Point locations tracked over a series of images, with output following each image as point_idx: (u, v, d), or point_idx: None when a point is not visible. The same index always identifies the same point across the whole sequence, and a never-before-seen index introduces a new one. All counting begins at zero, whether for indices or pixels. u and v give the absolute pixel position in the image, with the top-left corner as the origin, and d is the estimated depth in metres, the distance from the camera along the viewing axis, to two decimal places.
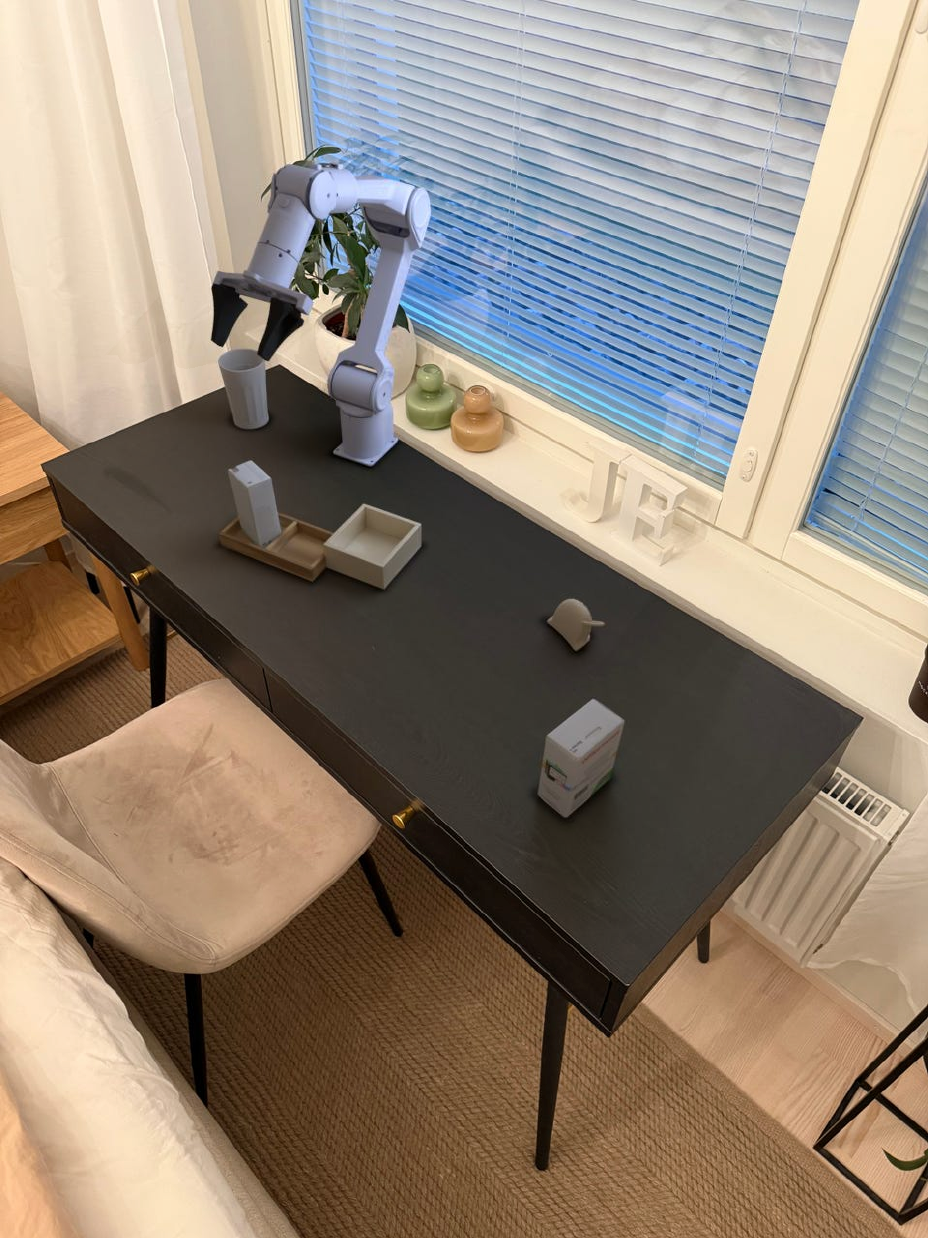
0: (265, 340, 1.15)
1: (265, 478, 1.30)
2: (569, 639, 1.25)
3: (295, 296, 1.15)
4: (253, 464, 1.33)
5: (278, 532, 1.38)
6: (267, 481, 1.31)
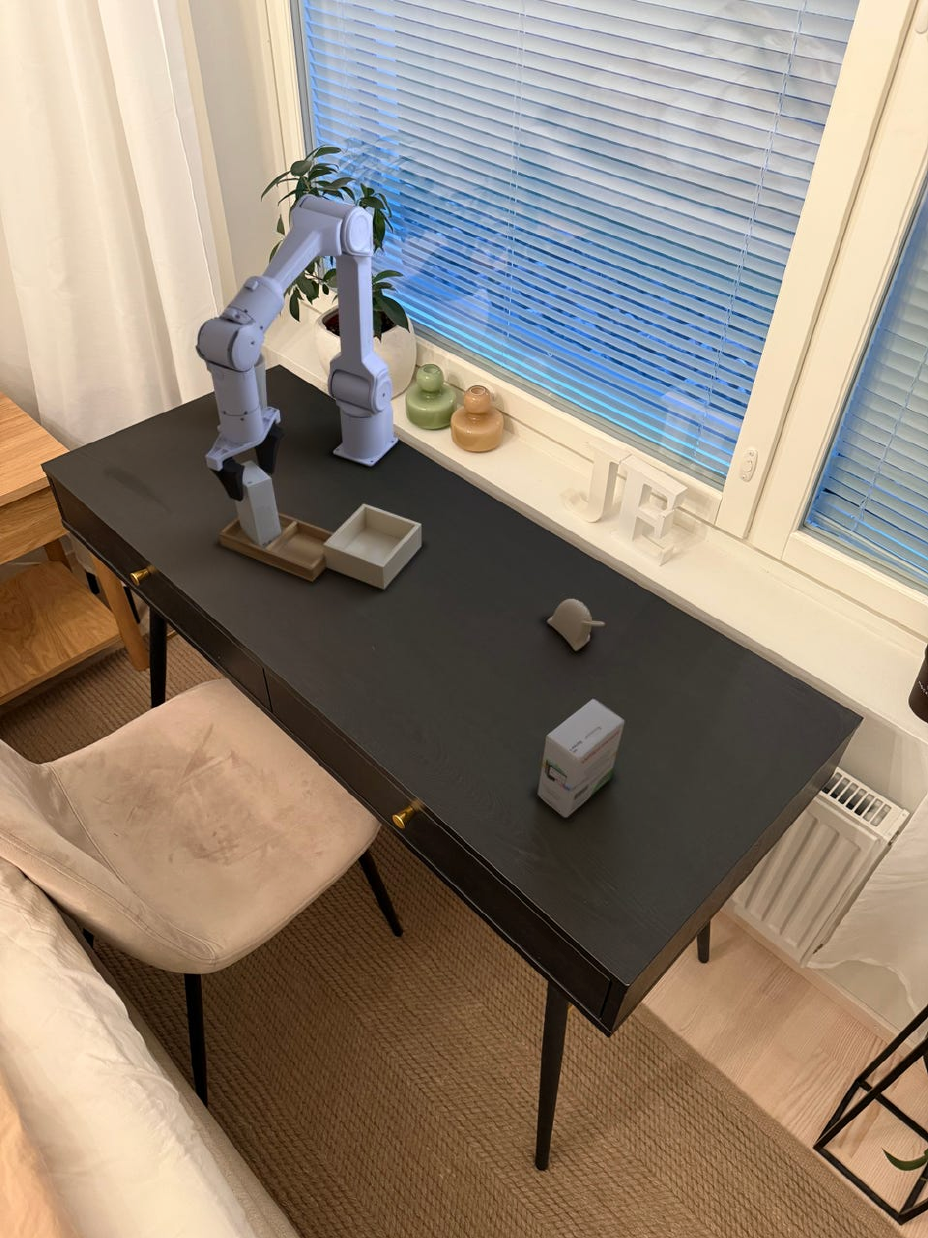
0: None
1: (265, 478, 1.30)
2: (569, 639, 1.25)
3: None
4: (253, 464, 1.33)
5: (278, 532, 1.38)
6: (267, 481, 1.31)
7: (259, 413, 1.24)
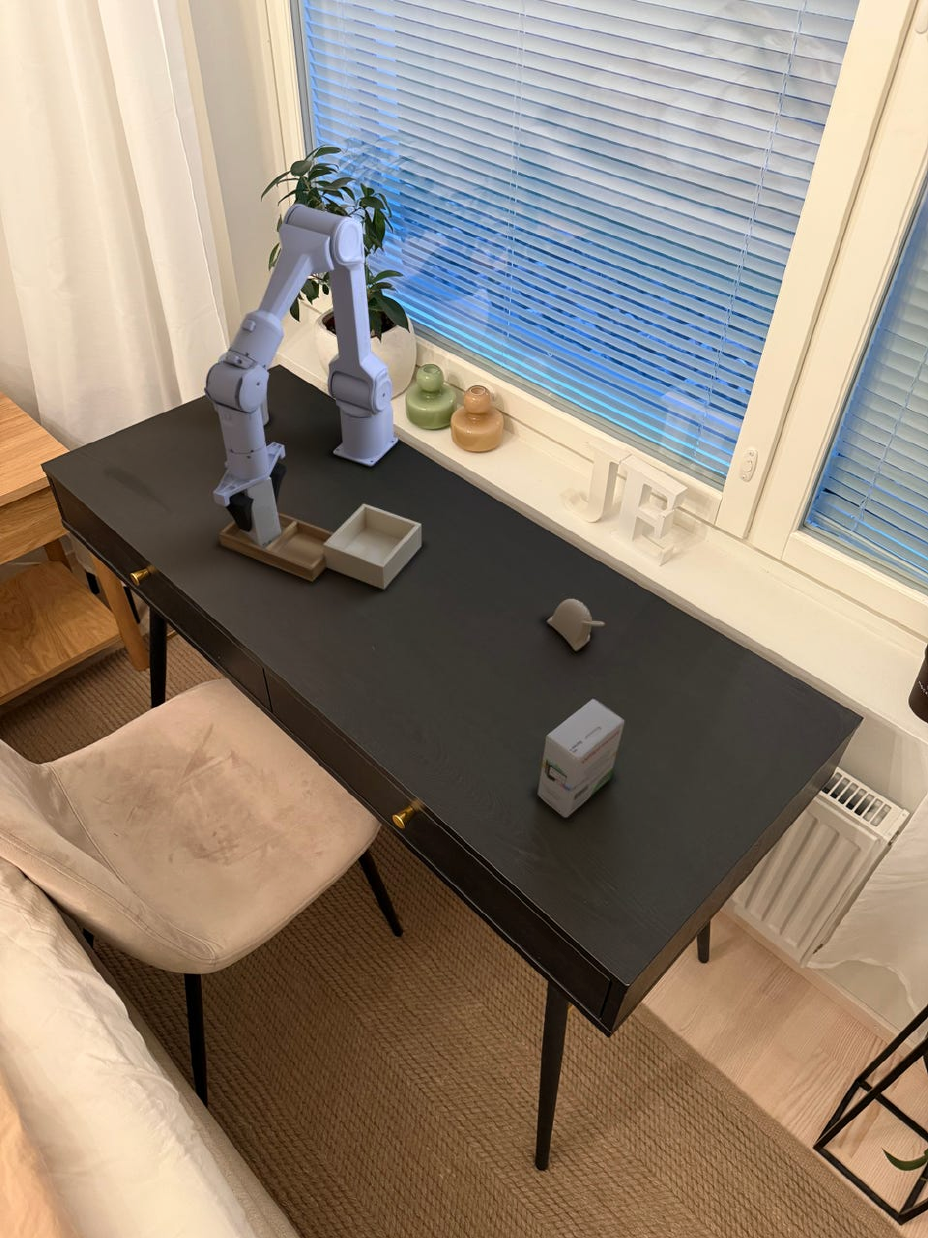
0: None
1: None
2: (569, 639, 1.25)
3: None
4: None
5: (278, 532, 1.37)
6: (267, 481, 1.31)
7: (265, 450, 1.28)
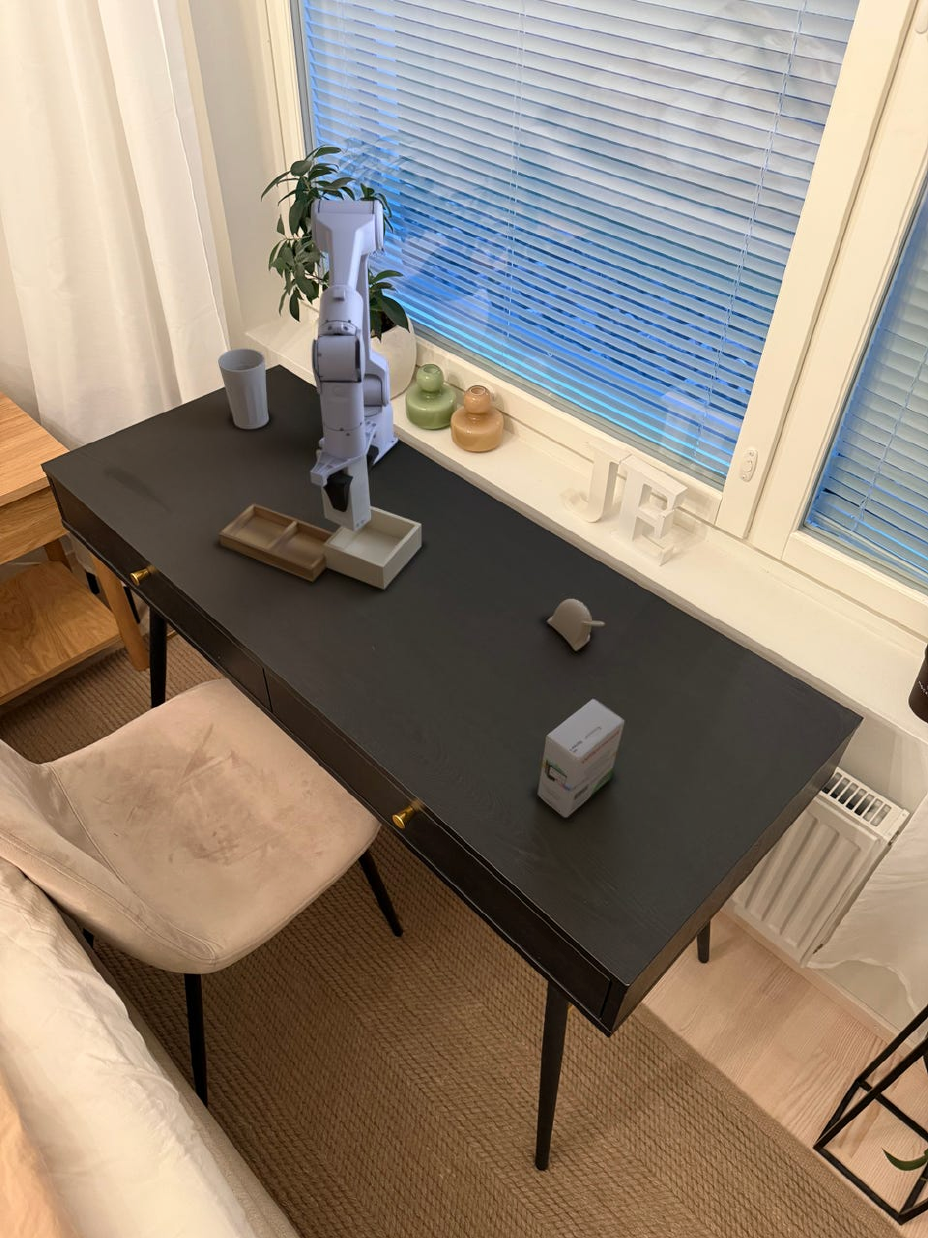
0: (329, 497, 1.28)
1: None
2: (569, 639, 1.25)
3: None
4: None
5: (368, 510, 1.32)
6: None
7: (364, 428, 1.22)
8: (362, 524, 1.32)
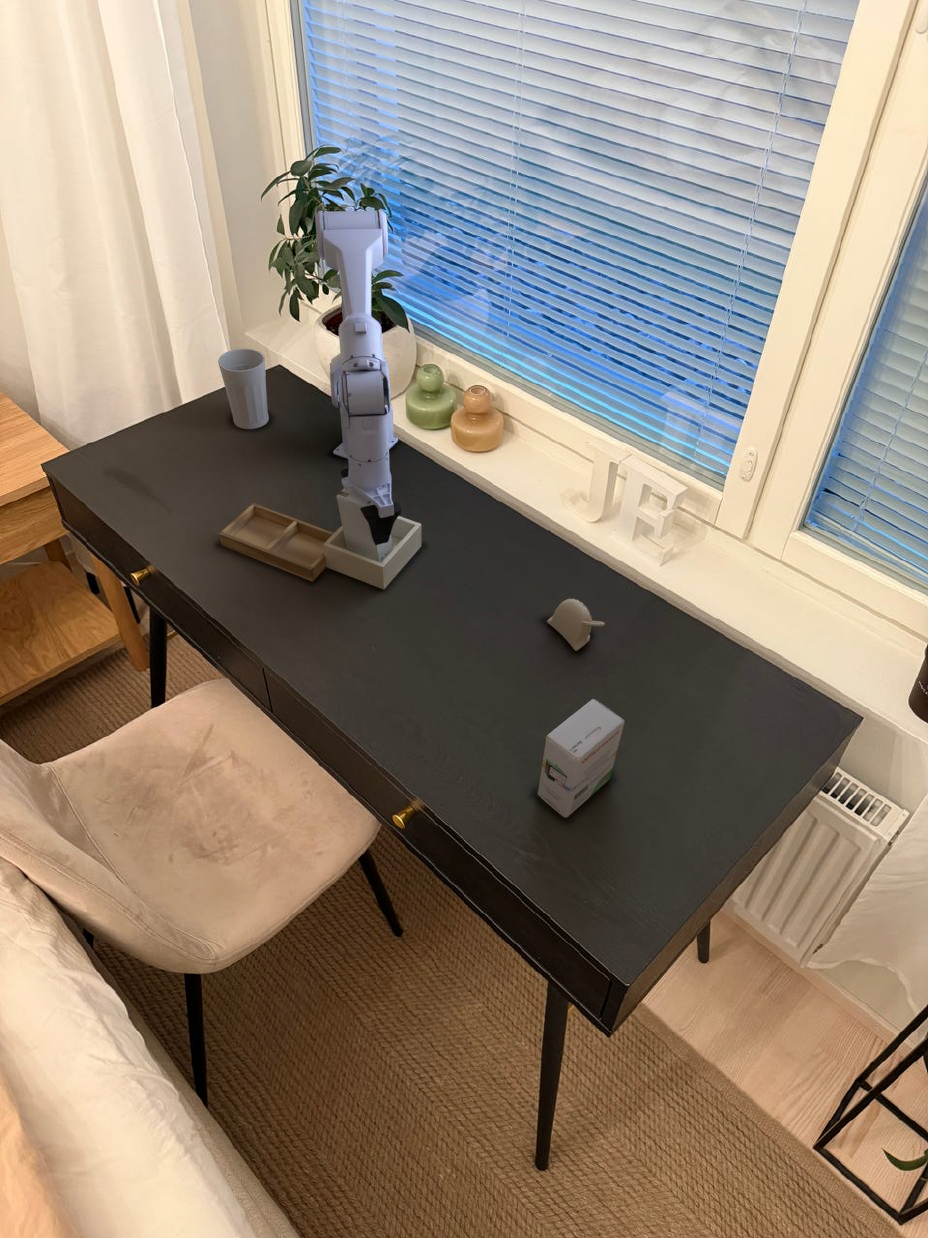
0: (372, 536, 1.29)
1: None
2: (569, 639, 1.25)
3: (375, 505, 1.24)
4: None
5: (390, 542, 1.36)
6: None
7: None
8: (386, 556, 1.36)
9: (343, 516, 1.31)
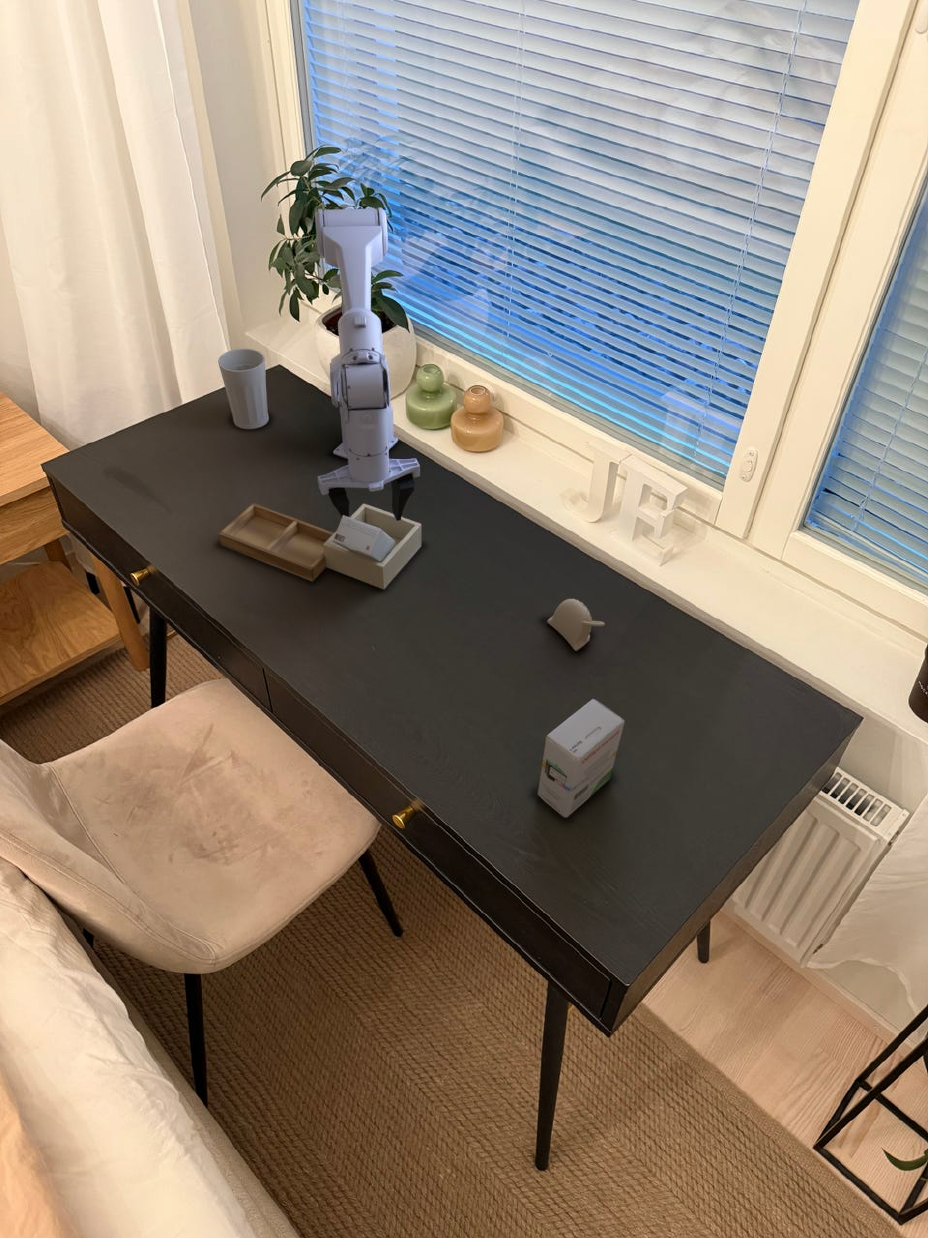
0: (401, 511, 1.32)
1: (376, 533, 1.24)
2: (569, 639, 1.25)
3: (410, 471, 1.28)
4: (350, 520, 1.24)
5: (392, 542, 1.34)
6: (379, 534, 1.24)
7: None
8: None
9: (342, 546, 1.28)
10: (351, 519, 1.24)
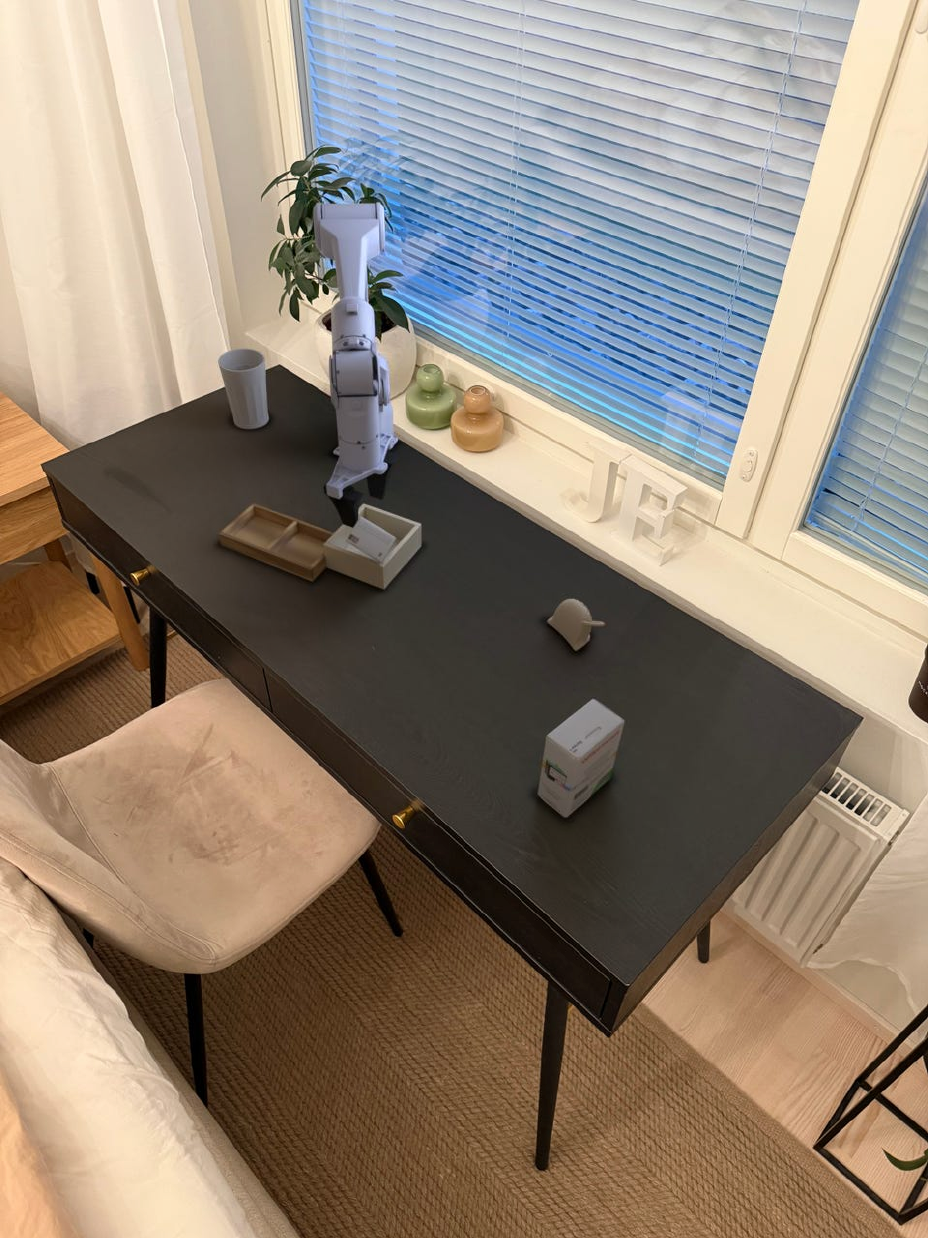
0: None
1: (391, 541, 1.24)
2: (569, 639, 1.25)
3: (388, 444, 1.30)
4: (367, 523, 1.23)
5: None
6: (393, 542, 1.24)
7: None
8: None
9: None
10: (368, 522, 1.23)
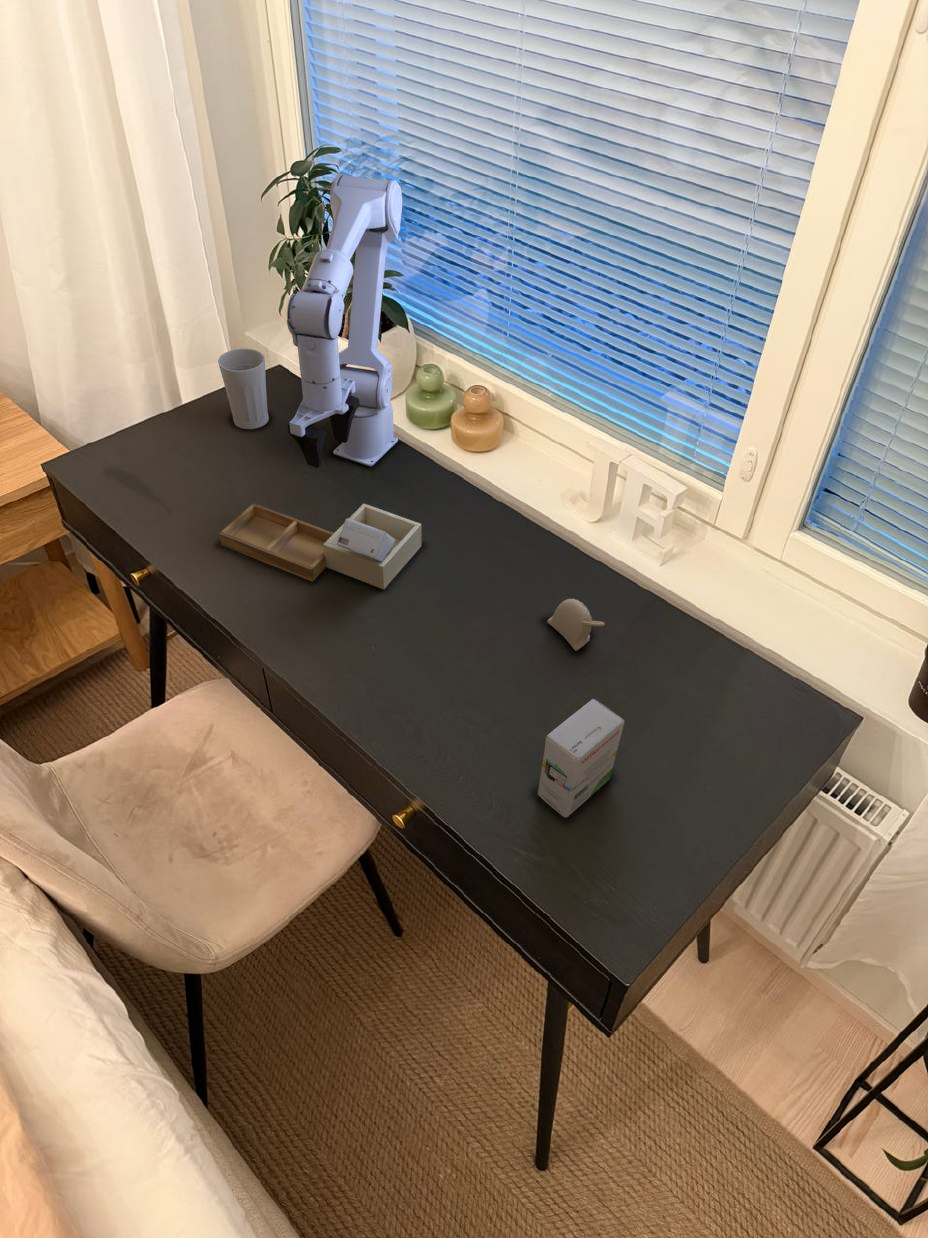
0: (349, 431, 1.40)
1: (381, 536, 1.24)
2: (569, 639, 1.25)
3: (351, 388, 1.36)
4: (354, 523, 1.24)
5: (392, 541, 1.34)
6: (383, 536, 1.24)
7: None
8: (390, 552, 1.35)
9: None
10: (355, 522, 1.24)
